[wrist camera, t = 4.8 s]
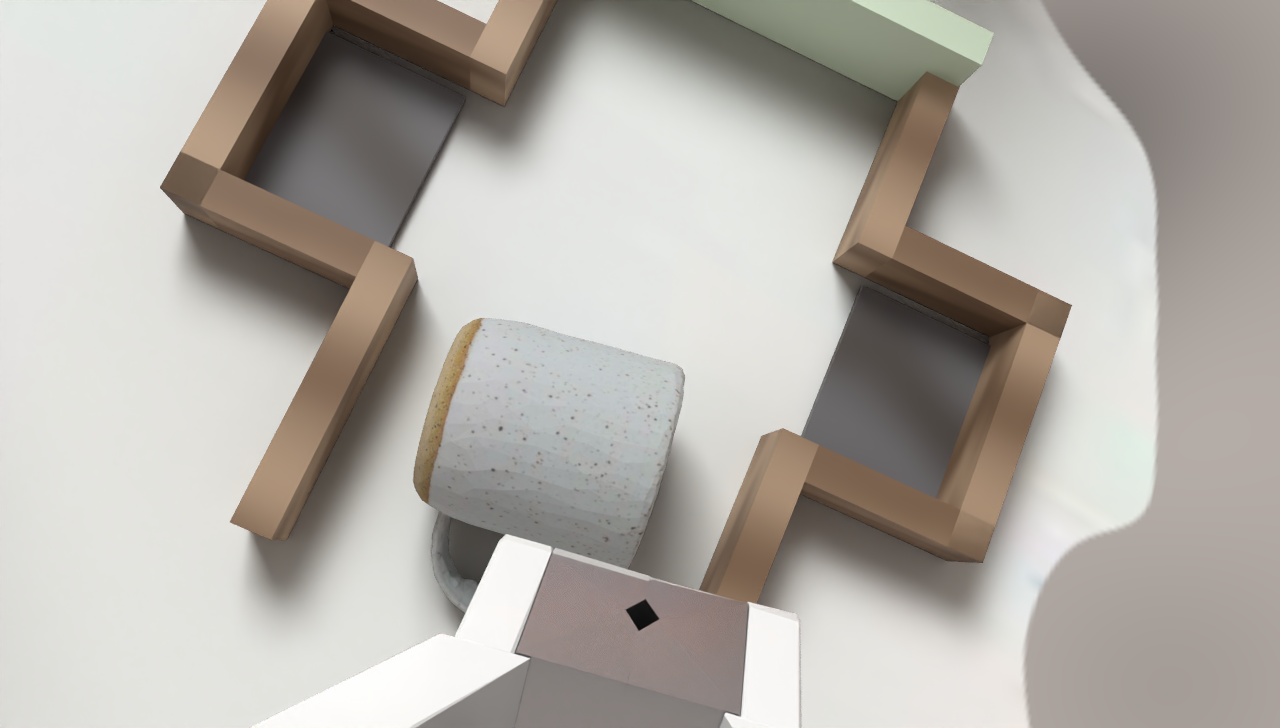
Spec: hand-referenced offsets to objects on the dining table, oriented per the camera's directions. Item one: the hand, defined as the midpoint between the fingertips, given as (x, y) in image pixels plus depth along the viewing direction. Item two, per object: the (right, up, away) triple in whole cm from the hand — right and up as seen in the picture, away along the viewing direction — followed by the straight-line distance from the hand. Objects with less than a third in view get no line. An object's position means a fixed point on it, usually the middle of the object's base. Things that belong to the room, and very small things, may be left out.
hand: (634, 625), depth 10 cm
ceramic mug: (-4, -2, +30) cm, 30 cm away
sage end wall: (+5, +18, +34) cm, 39 cm away
